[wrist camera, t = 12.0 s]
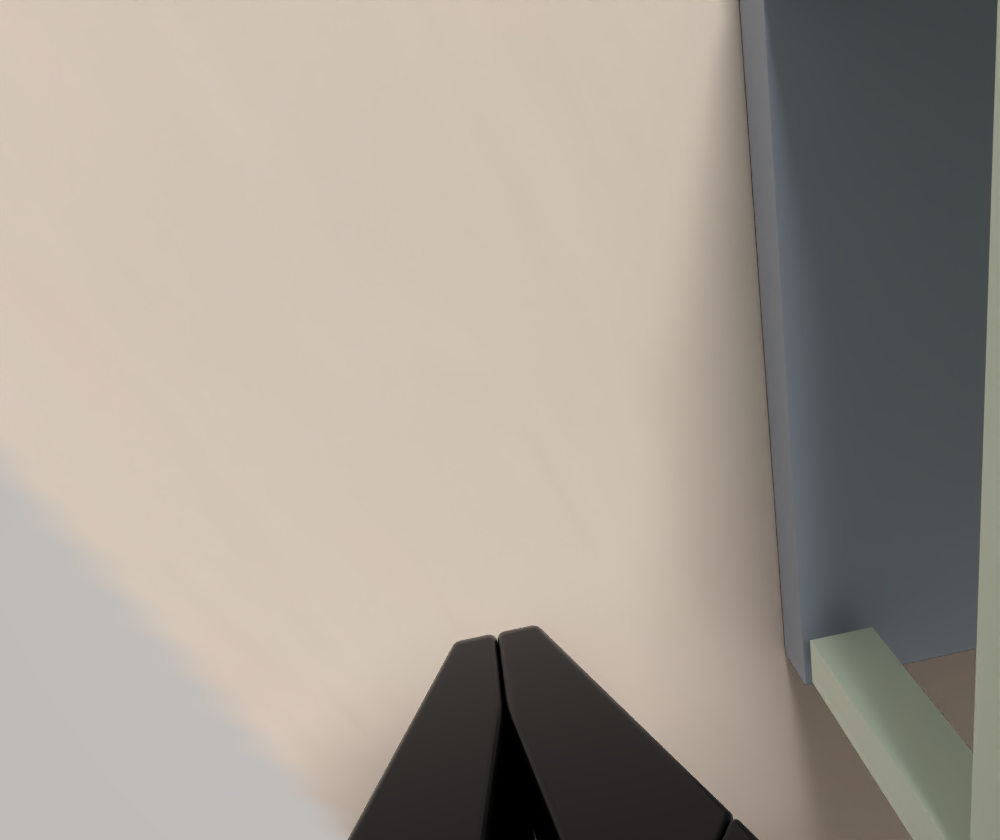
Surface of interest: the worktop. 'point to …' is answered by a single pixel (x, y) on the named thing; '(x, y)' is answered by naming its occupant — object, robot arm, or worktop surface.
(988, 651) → the hood
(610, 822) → the robot arm
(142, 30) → the worktop surface
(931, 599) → the grey base plate
